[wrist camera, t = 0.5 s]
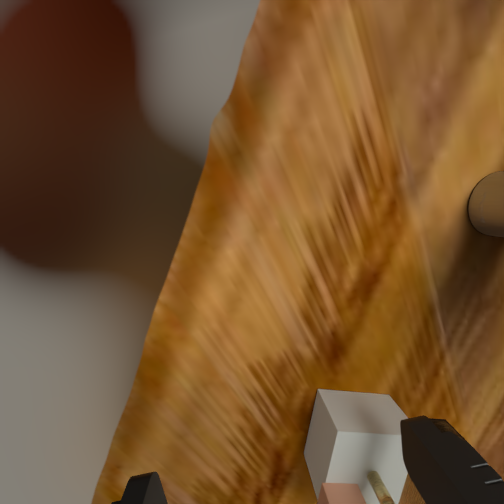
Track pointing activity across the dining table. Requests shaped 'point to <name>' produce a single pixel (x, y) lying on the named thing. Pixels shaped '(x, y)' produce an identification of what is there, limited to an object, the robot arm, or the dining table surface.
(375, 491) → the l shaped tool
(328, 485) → the block
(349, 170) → the dining table surface
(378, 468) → the box
